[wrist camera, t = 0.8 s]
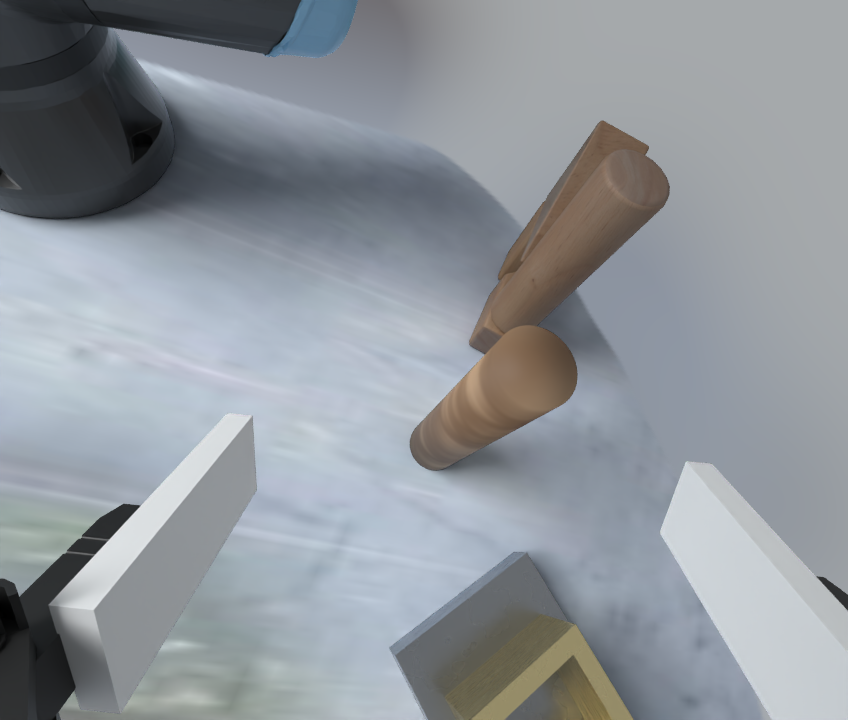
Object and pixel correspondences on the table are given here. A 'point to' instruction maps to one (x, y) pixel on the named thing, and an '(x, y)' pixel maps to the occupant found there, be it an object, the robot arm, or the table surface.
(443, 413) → the wooden cylinder
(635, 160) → the wooden block stack
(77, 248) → the table surface
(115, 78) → the robot arm
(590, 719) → the yellow socket on base
